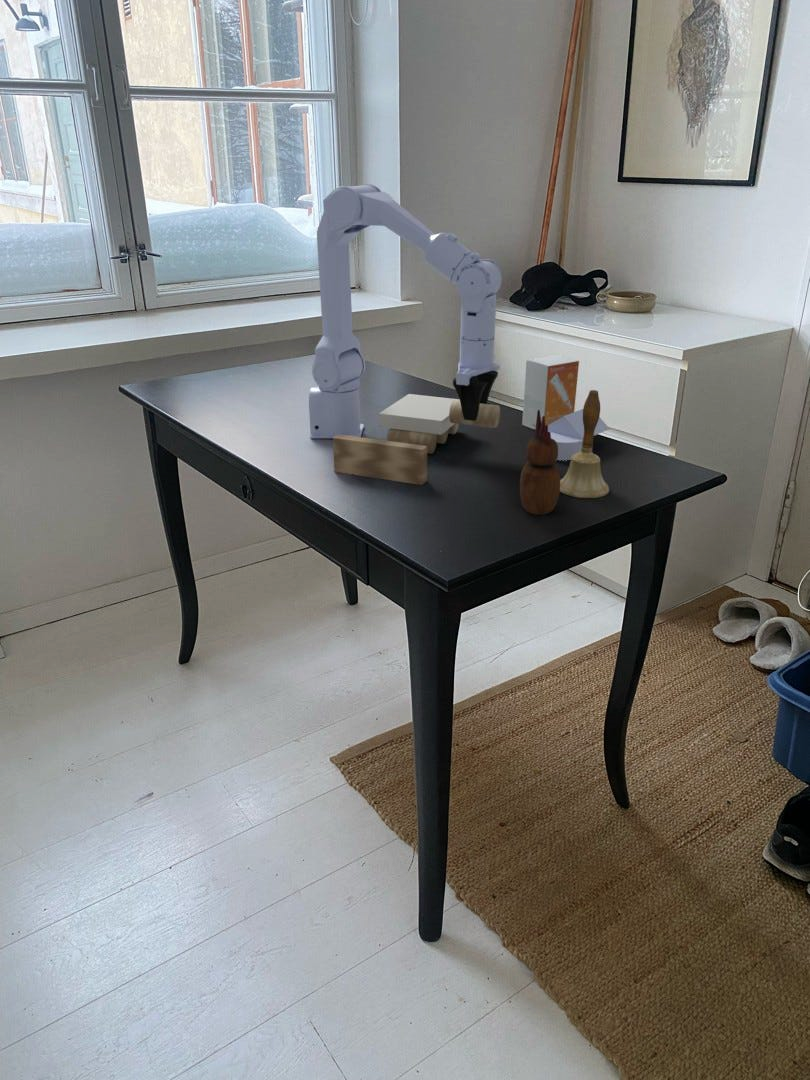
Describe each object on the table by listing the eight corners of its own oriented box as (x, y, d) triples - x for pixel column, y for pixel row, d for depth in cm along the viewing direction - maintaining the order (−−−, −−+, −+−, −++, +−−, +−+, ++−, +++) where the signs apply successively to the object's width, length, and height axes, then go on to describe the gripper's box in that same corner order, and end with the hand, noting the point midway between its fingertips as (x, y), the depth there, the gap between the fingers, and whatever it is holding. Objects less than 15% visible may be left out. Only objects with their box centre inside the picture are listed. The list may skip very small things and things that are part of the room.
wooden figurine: (516, 501, 126) (522, 406, 120) (554, 501, 126) (561, 407, 119) (520, 519, 120) (527, 420, 113) (560, 519, 120) (568, 420, 113)
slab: (379, 426, 147) (378, 413, 146) (408, 406, 159) (408, 393, 158) (441, 434, 143) (441, 420, 142) (467, 413, 155) (467, 400, 153)
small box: (543, 433, 156) (548, 365, 150) (521, 425, 161) (525, 359, 155) (574, 426, 160) (580, 360, 154) (551, 418, 165) (556, 353, 159)
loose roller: (448, 425, 143) (449, 403, 141) (456, 419, 146) (457, 398, 144) (492, 430, 140) (494, 408, 138) (499, 424, 143) (500, 403, 142)
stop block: (334, 471, 138) (332, 437, 135) (339, 467, 140) (338, 434, 137) (422, 485, 132) (422, 449, 130) (426, 480, 134) (427, 446, 131)
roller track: (366, 466, 140) (366, 444, 138) (420, 425, 161) (420, 406, 159) (409, 472, 137) (409, 450, 136) (458, 430, 158) (459, 410, 156)
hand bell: (583, 476, 136) (592, 381, 129) (620, 491, 130) (632, 393, 123) (545, 486, 132) (552, 389, 125) (581, 502, 125) (591, 401, 119)
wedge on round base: (566, 436, 155) (525, 452, 146) (569, 401, 152) (527, 416, 143) (608, 446, 149) (568, 464, 141) (611, 410, 146) (571, 427, 138)
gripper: (487, 348, 129) (483, 430, 135) (512, 331, 141) (508, 407, 147) (445, 344, 131) (443, 425, 137) (473, 328, 144) (470, 403, 149)
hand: (474, 416), depth 142 cm, fingers closed on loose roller, 4 cm apart
